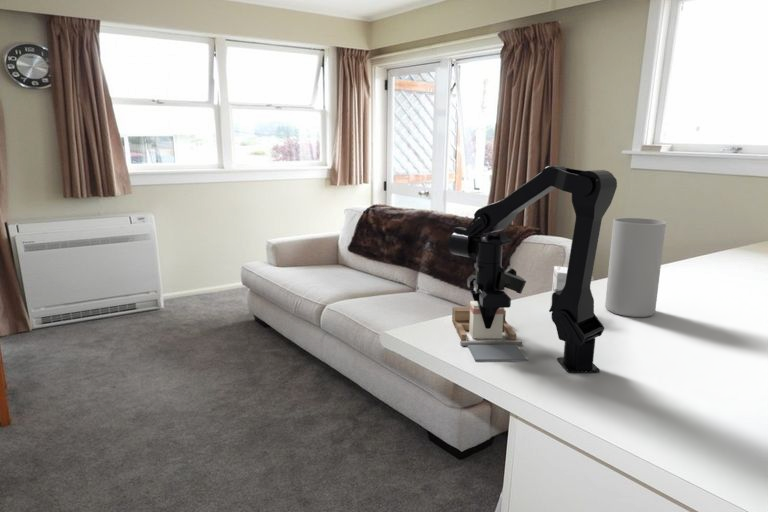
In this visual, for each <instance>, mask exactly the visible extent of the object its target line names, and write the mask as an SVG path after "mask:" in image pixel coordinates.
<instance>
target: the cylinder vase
mask: <svg viewBox="0 0 768 512" xmlns="http://www.w3.org/2000/svg"><path fill="white" fill-rule="evenodd" d="M666 224H667V223H666V221H663V220H658V219H653V218H642V217H641V218H640V217H617V218H613V222H612V232H611V240H610V241H611V242H610V253H609V260H608V261H609V263H608V273H607V282H606V290H605V292H606V294H605V300H604V301H605V302H604V307H605V308H606V309H607V310H608V311H609V312H610V313H613V314H616V315H618V316H623V317H630V318H647V317H651V316H653V315H655V313H656V310H657V309H656V308H657V301H658V292H659V284H660V283H659V282H660V276H661V275H660V274H661V267H662V259H663V258H662V257H663V250H664V241H665V233H666Z"/></svg>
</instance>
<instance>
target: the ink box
mask: <svg viewBox="0 0 768 512" xmlns="http://www.w3.org/2000/svg"><path fill="white" fill-rule="evenodd" d="M567 270H568V266H567V267H566V266H559V265H558V266H557V265H555V266H553V275H552V286H551V296H550V307H551V306H552V295H553V293H554V292H557V291H560V290H562V289H563V288H564V286H565V282H566V276H567Z"/></svg>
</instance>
